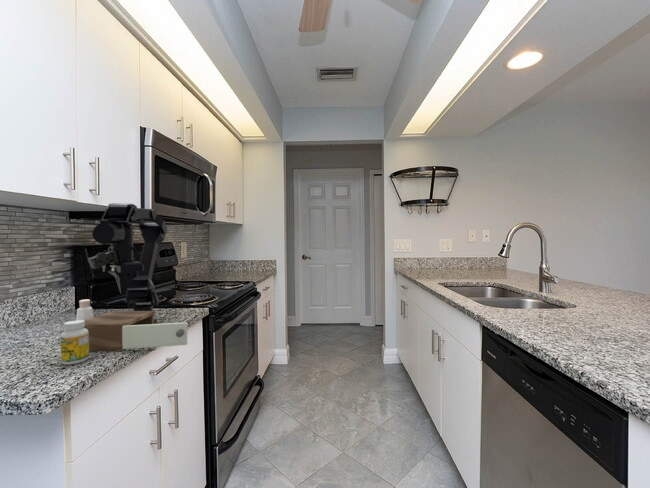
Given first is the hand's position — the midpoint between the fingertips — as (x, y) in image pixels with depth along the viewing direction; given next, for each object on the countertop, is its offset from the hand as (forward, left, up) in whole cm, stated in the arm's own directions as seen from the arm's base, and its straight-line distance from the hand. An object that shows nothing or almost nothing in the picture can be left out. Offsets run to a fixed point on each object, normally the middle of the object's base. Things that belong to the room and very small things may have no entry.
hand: (122, 293), depth 97 cm
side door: (+13, +17, -12) cm, 25 cm away
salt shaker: (0, -12, -13) cm, 18 cm away
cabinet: (+6, +2, -13) cm, 14 cm away
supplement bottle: (+21, +2, -13) cm, 25 cm away
